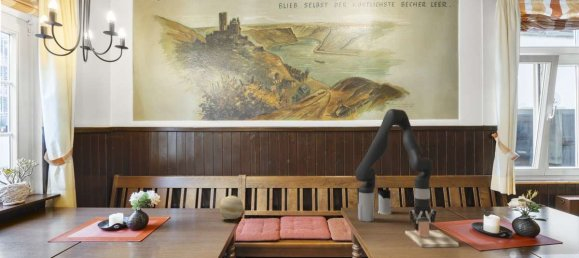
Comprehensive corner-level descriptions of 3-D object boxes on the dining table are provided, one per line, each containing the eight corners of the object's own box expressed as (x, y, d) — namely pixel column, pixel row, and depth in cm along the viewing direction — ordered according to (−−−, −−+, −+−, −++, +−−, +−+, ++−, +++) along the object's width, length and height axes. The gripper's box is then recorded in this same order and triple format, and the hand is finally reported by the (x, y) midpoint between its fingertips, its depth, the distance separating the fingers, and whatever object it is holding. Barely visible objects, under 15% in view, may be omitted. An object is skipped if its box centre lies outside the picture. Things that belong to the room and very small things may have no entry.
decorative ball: (214, 220, 225) (214, 196, 224) (232, 215, 236) (232, 192, 236) (229, 224, 215) (229, 199, 215) (248, 218, 226) (248, 195, 226)
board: (421, 247, 170) (421, 244, 170) (405, 233, 192) (405, 230, 192) (458, 246, 170) (458, 243, 170) (438, 232, 192) (438, 230, 192)
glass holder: (376, 211, 241) (375, 189, 241) (396, 210, 243) (395, 188, 243) (380, 214, 233) (380, 191, 233) (401, 213, 234) (401, 191, 234)
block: (419, 235, 178) (419, 219, 178) (415, 232, 183) (415, 217, 183) (429, 235, 178) (429, 219, 178) (425, 232, 183) (425, 217, 183)
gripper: (410, 198, 177) (411, 232, 177) (439, 198, 177) (439, 232, 177) (405, 195, 184) (405, 228, 184) (432, 195, 185) (433, 227, 185)
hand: (422, 230), depth 181 cm, fingers closed on block, 5 cm apart
